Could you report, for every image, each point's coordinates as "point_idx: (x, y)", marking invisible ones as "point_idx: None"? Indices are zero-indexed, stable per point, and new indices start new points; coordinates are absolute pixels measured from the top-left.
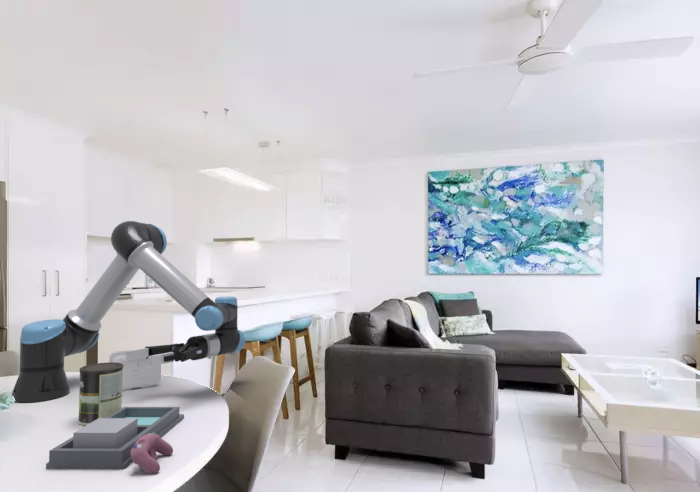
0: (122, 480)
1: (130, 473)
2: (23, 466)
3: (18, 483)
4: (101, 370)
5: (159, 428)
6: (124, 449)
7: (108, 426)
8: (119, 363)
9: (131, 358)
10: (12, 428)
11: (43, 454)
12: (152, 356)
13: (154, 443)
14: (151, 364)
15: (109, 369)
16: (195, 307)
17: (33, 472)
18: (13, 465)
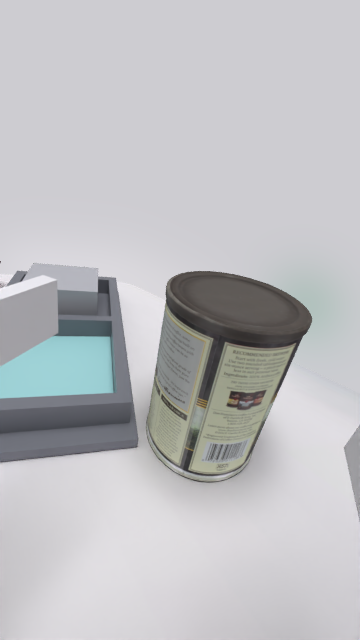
0: (8, 279)
1: (3, 286)
2: (148, 300)
3: (120, 283)
4: (188, 272)
5: None
6: (16, 273)
7: (57, 273)
8: (224, 322)
9: (356, 468)
10: (311, 376)
11: (154, 316)
12: (42, 277)
13: None
14: (53, 325)
15: (175, 276)
16: None
17: (124, 293)
18: (161, 302)
